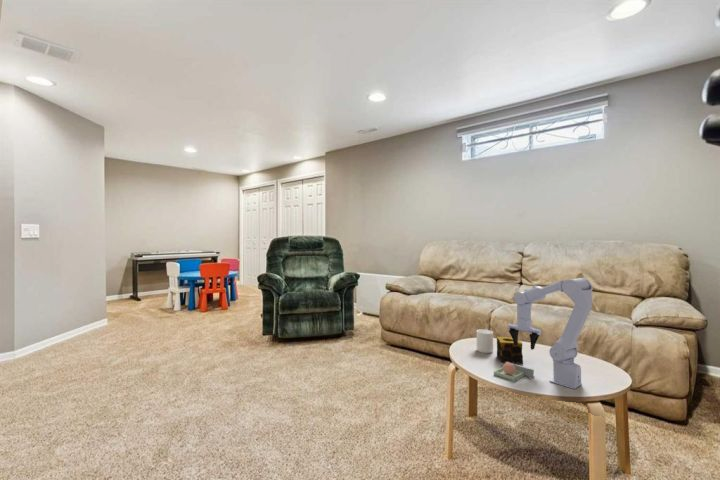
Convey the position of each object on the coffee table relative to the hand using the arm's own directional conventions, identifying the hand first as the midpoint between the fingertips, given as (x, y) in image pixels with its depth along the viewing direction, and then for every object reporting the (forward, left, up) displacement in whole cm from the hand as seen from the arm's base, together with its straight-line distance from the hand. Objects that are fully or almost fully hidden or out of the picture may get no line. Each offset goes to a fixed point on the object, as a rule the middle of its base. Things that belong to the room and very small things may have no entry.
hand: (524, 347), depth 156 cm
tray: (0, +14, -9) cm, 17 cm away
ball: (0, +14, -6) cm, 16 cm away
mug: (+24, -9, -10) cm, 27 cm away
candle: (+9, -4, -10) cm, 14 cm away
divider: (-2, +9, -9) cm, 13 cm away
